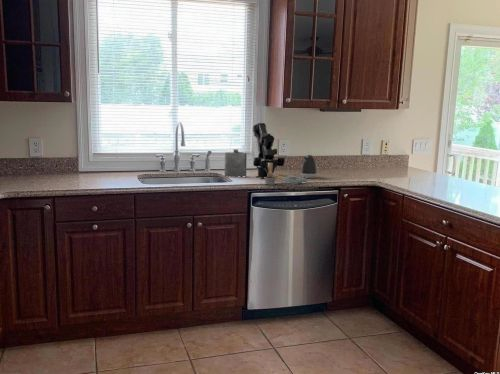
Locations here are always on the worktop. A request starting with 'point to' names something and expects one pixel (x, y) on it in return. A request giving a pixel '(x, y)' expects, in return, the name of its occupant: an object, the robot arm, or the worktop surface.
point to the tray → (293, 180)
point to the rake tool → (270, 175)
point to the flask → (235, 163)
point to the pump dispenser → (309, 167)
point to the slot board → (281, 176)
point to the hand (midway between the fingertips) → (270, 172)
